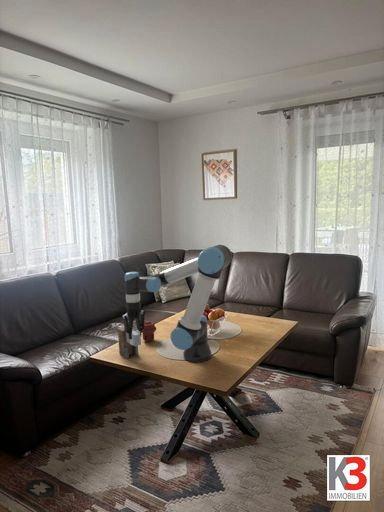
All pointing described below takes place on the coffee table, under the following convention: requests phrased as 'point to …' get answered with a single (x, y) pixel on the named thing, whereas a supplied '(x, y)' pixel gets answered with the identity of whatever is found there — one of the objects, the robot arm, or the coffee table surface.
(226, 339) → the coffee table surface
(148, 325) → the mechanical component
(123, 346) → the post
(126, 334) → the light blue block
